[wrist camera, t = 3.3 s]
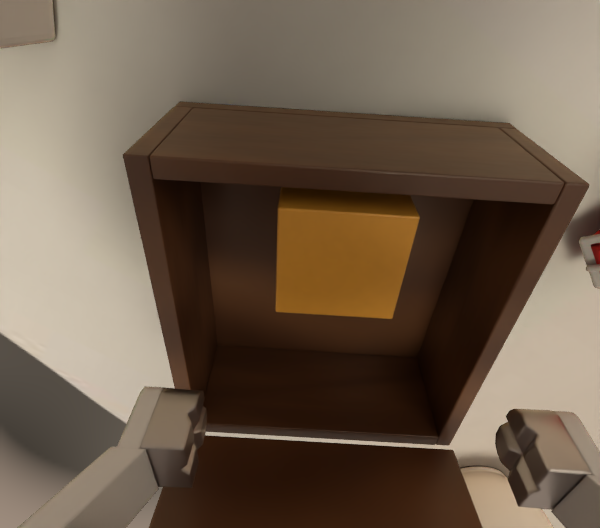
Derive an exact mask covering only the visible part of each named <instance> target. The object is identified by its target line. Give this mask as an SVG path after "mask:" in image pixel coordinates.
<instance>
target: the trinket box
mask: <svg viewBox="0 0 600 528" xmlns="http://www.w3.org/2000/svg"><path fill="white" fill-rule="evenodd" d="M461 472H462V475H463V477H464V480H465V482H466V485H467V488H468V490H469V493H470V496H471V498H472V501H473V504H474V506H475V509H476V512H477V514H478V517H479V519H480V522H481V525H482V527H483V528H553V526H552V524H551V522H550V521H549V519H548V517H547V516H546V514H545V513H544V511H543V510H542V509H540V508H528V507H518V505H517V502H516V500H515V497H514V495H513V492H512V490H511V487H510V484H509V482H508V478H506V477H505V475H504V474H503V473H502V472H500V471H499V470H496V469H494V468H489V467H466V468H461Z"/></svg>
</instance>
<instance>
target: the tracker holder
mask: <svg viewBox="0 0 600 528" xmlns="http://www.w3.org/2000/svg"><path fill="white" fill-rule="evenodd" d="M578 242H579V245H580V247H581V250H582V253H583V256H584V259H585V262H586V265H587V267H586V270H587V271H589V273H590V276H591V279H592V282H593V285H594V287H595V288H597V289H600V230H598V231H597V232H596V233H595V234H594V235H591V236H585V237H581V238H580V239H579V241H578Z"/></svg>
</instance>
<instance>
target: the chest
mask: <svg viewBox="0 0 600 528" xmlns="http://www.w3.org/2000/svg"><path fill="white" fill-rule="evenodd" d="M123 158H124V162H125V167H126V171H127V176H128V180H129V185H130V189H131V194H132V198H133V203H134V207H135V212H136V216H137V221H138V225H139V230H140V234H141V239H142V243H143V248H144V252H145V256H146V261H147V265H148V270H149V274H150V279H151V283H152V288H153V292H154V297H155V301H156V306H157V310H158V315H159V319H160V324H161V328H162V333H163V337H164V342H165V346H166V351H167V355H168V359H169V364H170V368H171V373H172V377H173V382H174V386H175V389H186V390H200V391H203V392H204V397H205V399H204V403H203V406H204V407H205V408H206V410H207V425H206V431H207V432H224V433H241V434H258V435H275V436H292V437H309V438H327V439H344V440H361V441H378V442H395V443H412V444H430V445H435V444H436V445H450V443H451V441H452V439H453V437H454V436H455V434H456V432H457V430H458V428H459V426H460V424H461V423H462V421H463V419H464V417H465V415H466V413H467V412H468V410H469V408H470V406H471V404H472V402H473V400H474V399H475V397H476V395H477V393H478V391H479V389H480V387H481V386H482V384H483V382H484V380H485V378H486V376H487V375H488V373H489V371H490V369H491V367H492V365H493V363H494V362H495V360H496V358H497V356H498V354H499V352H500V350H501V349H502V347H503V345H504V343H505V341H506V339H507V337H508V336H509V334H510V332H511V330H512V328H513V326H514V325H515V323H516V321H517V319H518V317H519V315H520V313H521V312H522V310H523V308H524V306H525V304H526V302H527V300H528V299H529V297H530V295H531V293H532V291H533V289H534V288H535V286H536V284H537V282H538V280H539V278H540V276H541V275H542V273H543V271H544V269H545V267H546V265H547V263H548V262H549V260H550V258H551V256H552V254H553V252H554V251H555V249H556V247H557V245H558V243H559V241H560V239H561V238H562V236H563V234H564V232H565V230H566V228H567V226H568V225H569V223H570V221H571V219H572V217H573V215H574V214H575V212H576V210H577V208H578V206H579V204H580V202H581V201H582V199H583V197H584V195H585V193H586V191H587V189H588V188H589V184H588V183H587V182H586V181H584V180H583V179H582V178H580V177H579V176H578V175H576V174H575V173H574V172H573V171H571V170H570V169H569V168H567V167H566V166H565V165H563V164H562V163H561V162H559V161H558V160H557V159H555V158H554V157H553V156H552V155H550V154H549V153H548V152H546V151H545V150H544V149H542V148H541V147H540V146H538V145H537V144H536V143H534V142H533V141H532V140H531V139H529V138H528V137H527V136H525V135H524V134H523V133H521V132H520V131H519V130H517V129H516V128H515V127H514V126H512V125H511V124H510V123H498V122H483V121H467V120H452V119H437V118H422V117H406V116H391V115H376V114H361V113H345V112H330V111H315V110H299V109H284V108H269V107H254V106H238V105H223V104H208V103H193V102H179V103H178V104H177V105H176V106H175V107H173V108H172V109H171V110H170V111H169V112H168V113H167V114H166V115H164V116H163V117H162V118H161V119H160V120H159V121H158V122H157V123H156V124H155V125H154V126H153V127H152V128H151V129H150V130H148V131H147V132H146V133H145V134H144V135H143V136H142V137H141V138H140V139H139V140H138V141H137V142H136V143H135V144H134V145H132V146H131V147H130V148H129V149H128V150H127V151H126V152H125V153H124V154H123ZM281 187H285V188H301V189H317V190H332V191H348V192H364V193H379V194H395V195H410V196H411V198H412V200H413V203H414V205H415V207H416V210H417V212H418V214H419V217H420V219H419V223H418V226H417V230H416V234H415V237H414V241H413V245H412V248H411V252H410V256H409V259H408V263H407V267H406V270H405V274H404V278H403V281H402V285H401V289H400V292H399V296H398V300H397V303H396V307H395V311H394V314H393V318H392V319H383V318H367V317H351V316H334V315H318V314H301V313H285V312H276V310H275V302H276V259H277V216H278V204H279V197H280V191H281Z"/></svg>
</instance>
